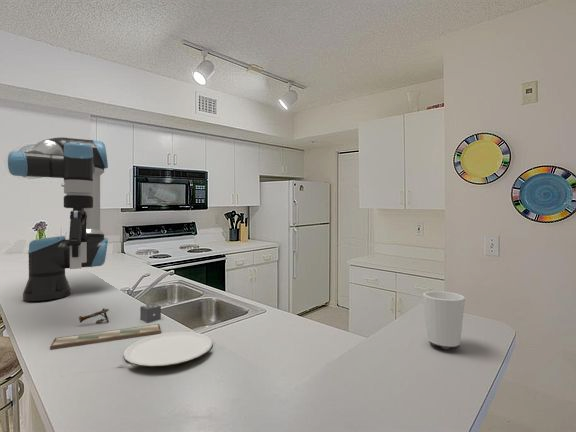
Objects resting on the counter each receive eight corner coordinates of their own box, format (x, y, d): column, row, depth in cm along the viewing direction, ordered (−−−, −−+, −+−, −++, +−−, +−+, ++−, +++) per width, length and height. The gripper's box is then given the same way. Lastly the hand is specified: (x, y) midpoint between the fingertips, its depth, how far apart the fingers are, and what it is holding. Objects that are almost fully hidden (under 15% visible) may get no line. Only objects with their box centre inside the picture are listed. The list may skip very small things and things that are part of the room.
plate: (124, 378, 68) (124, 372, 68) (122, 344, 87) (122, 339, 87) (222, 358, 78) (222, 353, 78) (202, 331, 97) (202, 326, 97)
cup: (461, 339, 88) (461, 292, 88) (468, 354, 79) (468, 301, 79) (421, 335, 92) (421, 289, 92) (424, 349, 82) (424, 298, 82)
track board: (55, 340, 88) (55, 337, 88) (159, 326, 99) (159, 323, 99) (50, 349, 82) (50, 346, 82) (161, 333, 94) (161, 330, 94)
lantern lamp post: (78, 317, 99) (107, 307, 102) (79, 315, 101) (108, 306, 104) (82, 331, 100) (111, 321, 103) (83, 329, 101) (112, 320, 104)
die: (140, 320, 105) (140, 306, 105) (153, 317, 109) (153, 303, 109) (147, 323, 102) (147, 308, 102) (161, 320, 106) (161, 305, 106)
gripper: (70, 197, 109) (70, 261, 109) (55, 192, 87) (55, 272, 87) (96, 197, 112) (96, 259, 112) (88, 192, 90) (89, 270, 90)
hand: (78, 265), depth 100 cm, fingers open, 13 cm apart
